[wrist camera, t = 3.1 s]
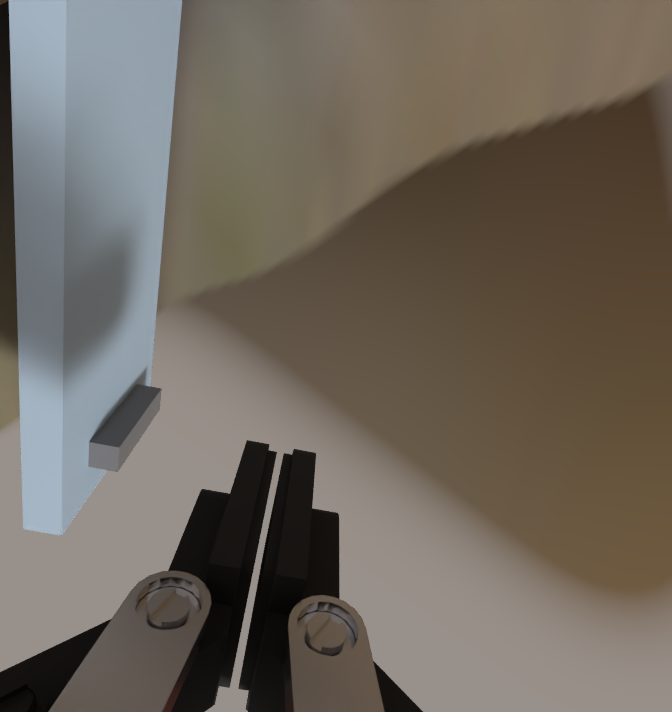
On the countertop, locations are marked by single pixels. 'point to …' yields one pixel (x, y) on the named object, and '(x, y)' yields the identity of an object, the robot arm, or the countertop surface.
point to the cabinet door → (87, 235)
